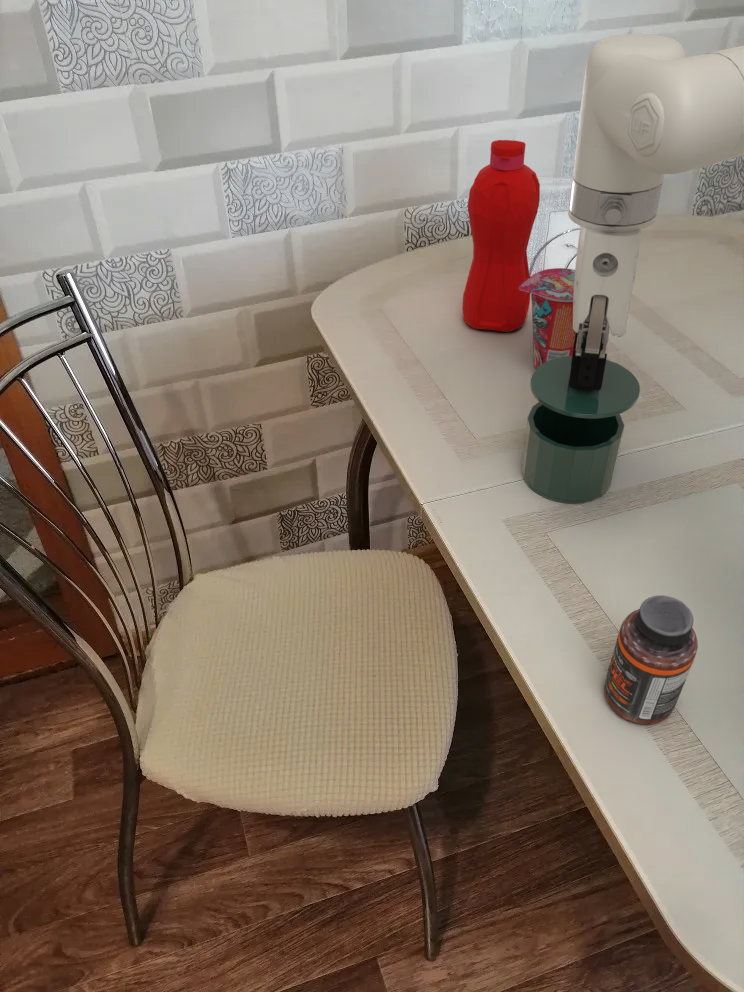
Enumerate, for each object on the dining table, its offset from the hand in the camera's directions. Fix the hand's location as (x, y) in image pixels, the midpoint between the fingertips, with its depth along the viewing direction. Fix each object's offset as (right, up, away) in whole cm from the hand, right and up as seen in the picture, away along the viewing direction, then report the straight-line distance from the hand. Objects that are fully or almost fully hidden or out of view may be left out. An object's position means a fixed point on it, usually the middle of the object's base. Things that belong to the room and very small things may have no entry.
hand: (585, 376), depth 81 cm
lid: (0, -1, +1) cm, 1 cm away
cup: (+2, +5, +26) cm, 26 cm away
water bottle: (-4, +14, +36) cm, 39 cm away
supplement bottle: (+1, -30, -13) cm, 32 cm away
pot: (0, -10, +9) cm, 13 cm away
